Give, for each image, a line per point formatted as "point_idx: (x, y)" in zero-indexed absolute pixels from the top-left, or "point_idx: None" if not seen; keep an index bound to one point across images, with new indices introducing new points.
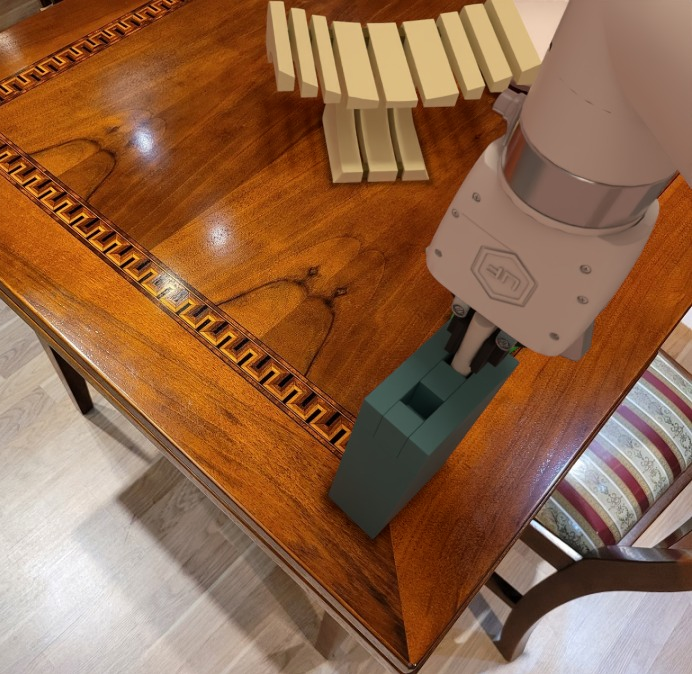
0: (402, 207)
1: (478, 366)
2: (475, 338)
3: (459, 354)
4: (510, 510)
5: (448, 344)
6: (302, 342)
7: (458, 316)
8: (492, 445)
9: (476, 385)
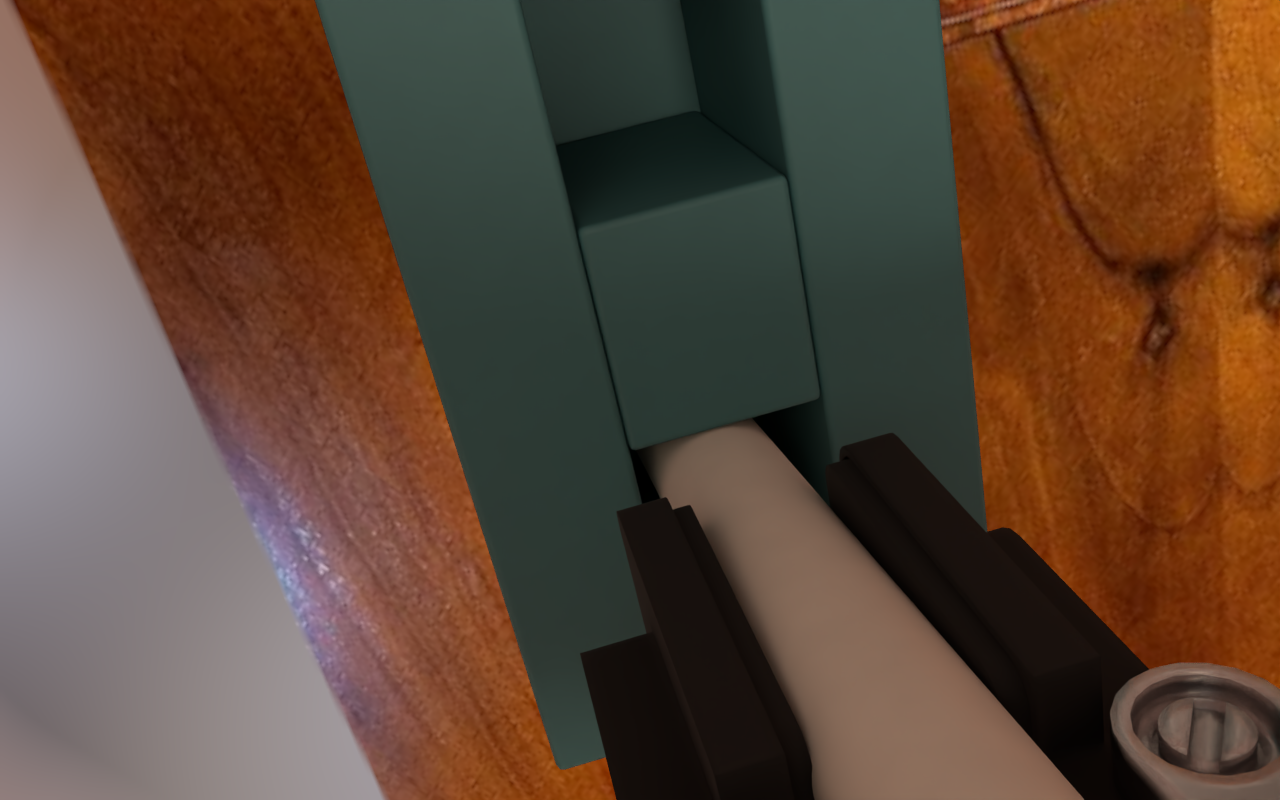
0: (1247, 668)
1: (648, 558)
2: (872, 688)
3: (800, 498)
4: (229, 371)
5: (912, 472)
6: (1100, 103)
7: (1133, 680)
8: (447, 451)
9: (564, 478)
